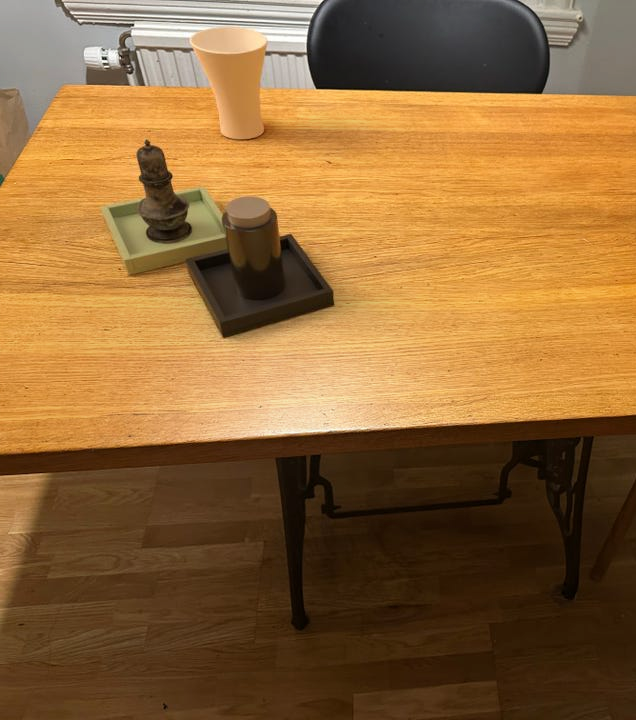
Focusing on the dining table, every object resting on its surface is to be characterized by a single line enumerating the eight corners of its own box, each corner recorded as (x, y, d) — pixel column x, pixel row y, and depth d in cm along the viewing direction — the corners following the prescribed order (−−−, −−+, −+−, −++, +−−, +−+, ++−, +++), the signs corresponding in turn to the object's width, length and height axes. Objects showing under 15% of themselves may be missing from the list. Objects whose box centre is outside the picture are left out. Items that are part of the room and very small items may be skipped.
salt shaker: (140, 222, 86) (115, 130, 78) (190, 215, 88) (171, 125, 80) (146, 248, 82) (119, 154, 74) (198, 240, 85) (178, 148, 76)
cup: (210, 115, 110) (194, 25, 101) (278, 116, 112) (269, 27, 103) (203, 146, 103) (184, 52, 94) (276, 146, 105) (265, 54, 96)
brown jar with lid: (244, 305, 77) (229, 226, 70) (227, 278, 80) (212, 199, 73) (292, 292, 79) (283, 214, 72) (275, 265, 82) (264, 188, 75)
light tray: (128, 275, 80) (124, 260, 78) (104, 220, 87) (100, 206, 85) (238, 249, 85) (235, 234, 84) (207, 199, 92) (204, 185, 91)
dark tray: (223, 338, 73) (219, 322, 72) (188, 273, 81) (185, 258, 79) (334, 305, 79) (333, 290, 78) (292, 247, 86) (291, 233, 85)
